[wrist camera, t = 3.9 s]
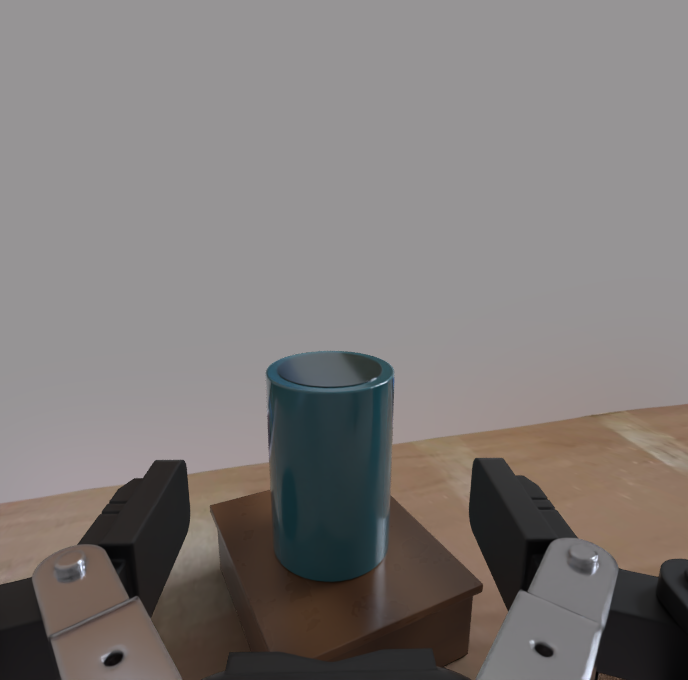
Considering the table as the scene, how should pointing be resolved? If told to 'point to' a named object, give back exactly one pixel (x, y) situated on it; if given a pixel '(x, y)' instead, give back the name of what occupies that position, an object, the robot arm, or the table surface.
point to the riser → (345, 592)
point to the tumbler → (330, 462)
